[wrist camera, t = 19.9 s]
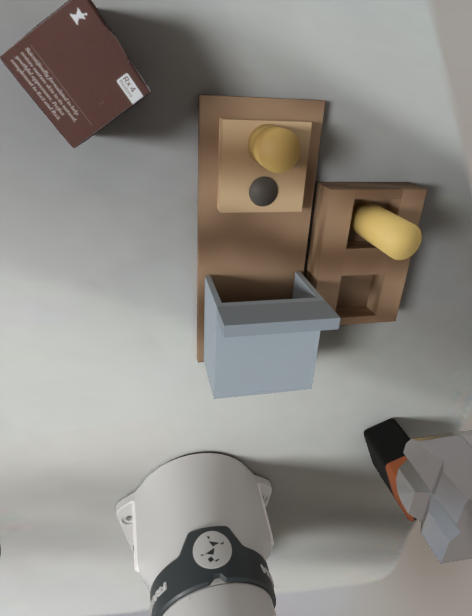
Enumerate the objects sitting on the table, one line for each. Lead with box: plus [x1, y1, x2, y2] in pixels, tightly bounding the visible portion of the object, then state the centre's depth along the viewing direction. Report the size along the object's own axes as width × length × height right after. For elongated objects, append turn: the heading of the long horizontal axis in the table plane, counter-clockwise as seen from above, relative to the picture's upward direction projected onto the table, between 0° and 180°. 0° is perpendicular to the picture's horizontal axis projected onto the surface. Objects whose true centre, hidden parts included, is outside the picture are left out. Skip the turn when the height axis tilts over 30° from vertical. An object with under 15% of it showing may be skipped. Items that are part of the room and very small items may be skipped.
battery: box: [364, 419, 416, 521], centre depth 52 cm, size 4×7×10 cm, turn 21°
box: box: [0, 0, 151, 148], centre depth 28 cm, size 6×6×7 cm
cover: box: [204, 272, 340, 399], centre depth 38 cm, size 9×9×9 cm
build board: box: [305, 182, 427, 325], centre depth 41 cm, size 13×9×3 cm
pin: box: [350, 200, 422, 260], centre depth 37 cm, size 3×3×7 cm
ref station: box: [197, 95, 325, 362], centre depth 38 cm, size 24×10×6 cm, turn 177°
